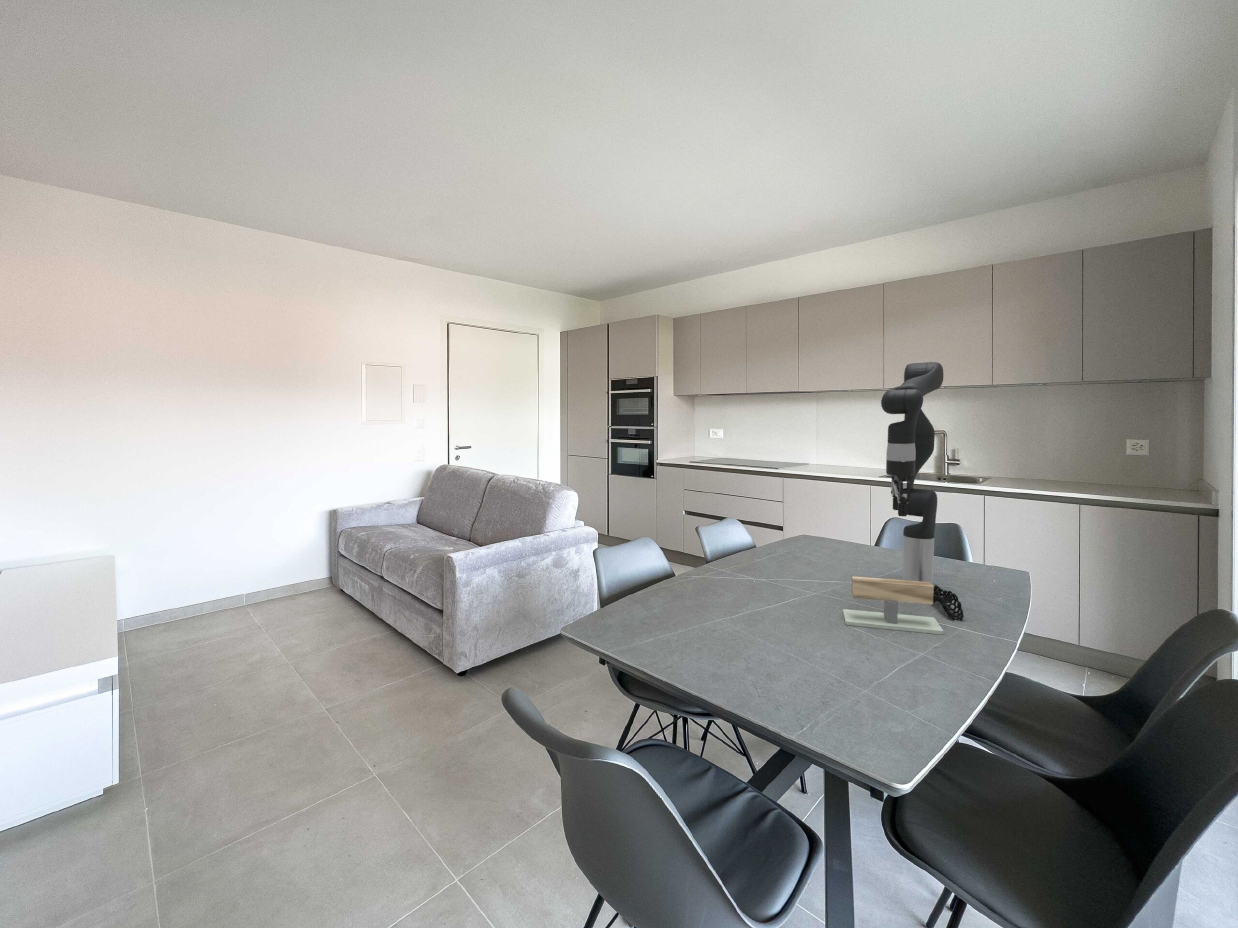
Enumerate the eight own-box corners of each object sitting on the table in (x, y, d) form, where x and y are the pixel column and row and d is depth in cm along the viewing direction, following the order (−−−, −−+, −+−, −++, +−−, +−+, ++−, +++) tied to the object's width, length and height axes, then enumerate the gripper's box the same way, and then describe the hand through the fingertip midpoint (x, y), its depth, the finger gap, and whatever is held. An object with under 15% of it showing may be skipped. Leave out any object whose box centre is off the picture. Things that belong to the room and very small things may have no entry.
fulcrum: (842, 612, 159) (843, 589, 159) (934, 620, 152) (935, 596, 151) (845, 624, 150) (846, 600, 149) (943, 634, 142) (944, 609, 142)
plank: (851, 593, 155) (852, 576, 155) (929, 599, 149) (930, 582, 149) (853, 597, 151) (853, 580, 151) (932, 604, 145) (933, 586, 145)
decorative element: (967, 622, 151) (968, 602, 150) (947, 621, 152) (948, 601, 151) (937, 596, 173) (938, 578, 172) (920, 595, 174) (921, 577, 173)
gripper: (882, 455, 164) (881, 507, 166) (890, 461, 150) (889, 517, 152) (910, 455, 161) (908, 508, 163) (920, 461, 148) (919, 518, 150)
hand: (899, 512), depth 158 cm, fingers open, 8 cm apart
